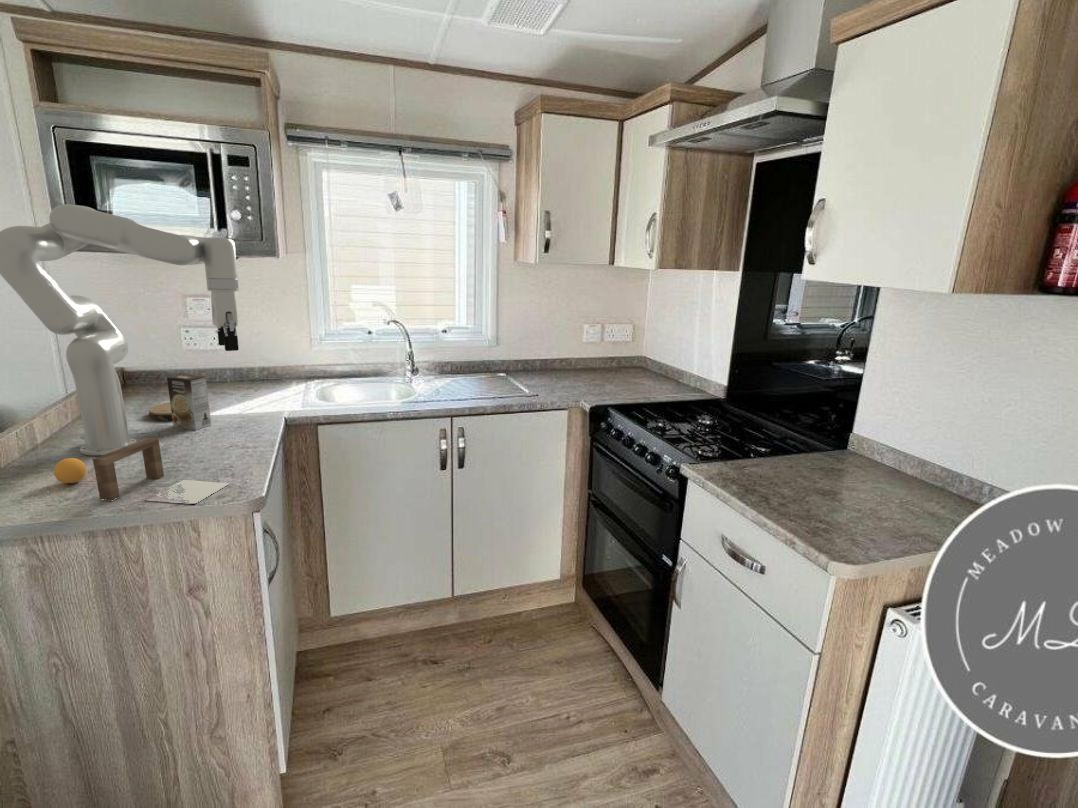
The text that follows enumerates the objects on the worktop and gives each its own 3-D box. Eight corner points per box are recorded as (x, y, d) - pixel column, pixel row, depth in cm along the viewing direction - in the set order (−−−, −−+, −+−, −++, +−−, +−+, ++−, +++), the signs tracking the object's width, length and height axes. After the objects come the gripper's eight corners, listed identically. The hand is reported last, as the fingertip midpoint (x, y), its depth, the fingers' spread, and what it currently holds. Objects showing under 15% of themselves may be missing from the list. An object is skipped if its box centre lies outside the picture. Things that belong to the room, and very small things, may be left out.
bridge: (100, 500, 127) (92, 459, 124) (153, 475, 141) (147, 437, 138) (112, 501, 126) (105, 460, 124) (164, 476, 141) (158, 438, 138)
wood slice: (177, 424, 182) (175, 415, 181) (137, 419, 186) (136, 410, 185) (216, 411, 197) (215, 403, 196) (179, 407, 201) (178, 399, 200)
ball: (49, 485, 134) (44, 461, 132) (76, 476, 139) (72, 453, 138) (68, 489, 132) (63, 464, 130) (94, 479, 137) (90, 456, 136)
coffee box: (172, 427, 178) (164, 376, 174) (189, 421, 184) (182, 372, 180) (196, 430, 175) (189, 379, 171) (212, 424, 181) (206, 375, 177)
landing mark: (144, 501, 127) (144, 500, 127) (183, 480, 138) (183, 479, 138) (194, 505, 125) (194, 504, 125) (229, 484, 137) (229, 483, 137)
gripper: (201, 282, 159) (208, 343, 164) (212, 287, 146) (218, 353, 150) (232, 283, 164) (237, 342, 168) (244, 287, 151) (250, 351, 155)
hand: (228, 347), depth 159 cm, fingers open, 9 cm apart
